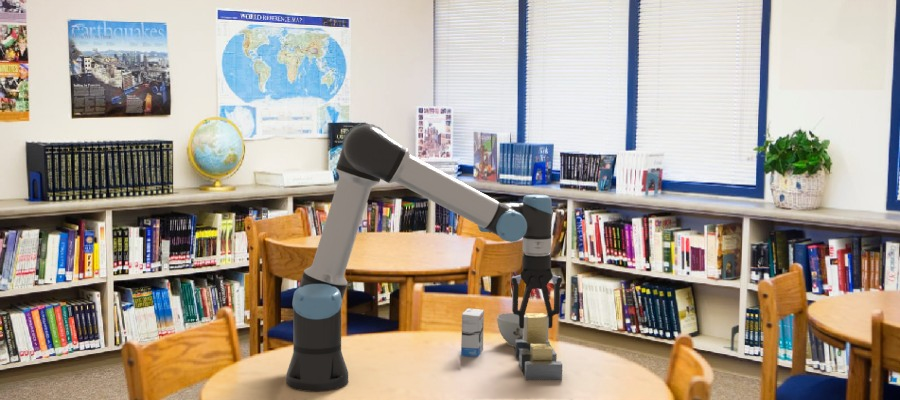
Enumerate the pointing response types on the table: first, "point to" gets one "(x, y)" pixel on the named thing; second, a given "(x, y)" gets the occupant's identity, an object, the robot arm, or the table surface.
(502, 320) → the teacup
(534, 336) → the tan square-edged block
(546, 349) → the wooden cube
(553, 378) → the rail
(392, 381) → the table surface
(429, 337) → the table surface
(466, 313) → the ink box
